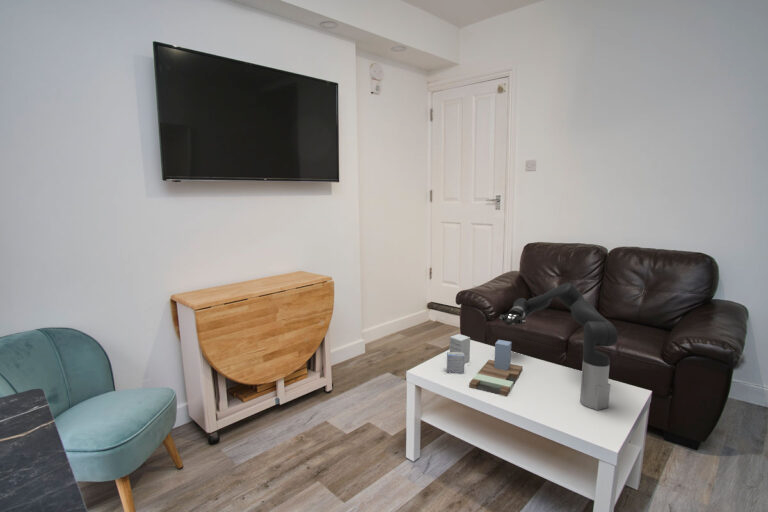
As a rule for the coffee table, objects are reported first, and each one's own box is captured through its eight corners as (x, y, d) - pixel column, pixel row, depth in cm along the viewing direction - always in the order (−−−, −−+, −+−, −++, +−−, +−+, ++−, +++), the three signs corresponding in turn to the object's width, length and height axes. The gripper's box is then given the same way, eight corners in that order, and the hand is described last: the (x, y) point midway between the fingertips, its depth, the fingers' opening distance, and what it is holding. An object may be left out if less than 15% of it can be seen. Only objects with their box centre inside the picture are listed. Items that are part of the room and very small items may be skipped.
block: (497, 363, 193) (498, 339, 191) (510, 366, 190) (511, 341, 188) (494, 368, 187) (495, 343, 186) (507, 370, 184) (508, 345, 183)
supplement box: (458, 357, 206) (459, 333, 204) (469, 361, 200) (470, 337, 198) (448, 360, 201) (449, 336, 199) (460, 365, 195) (461, 340, 194)
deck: (488, 363, 198) (488, 359, 198) (522, 370, 190) (522, 366, 190) (469, 387, 172) (469, 382, 172) (507, 396, 164) (507, 391, 164)
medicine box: (463, 369, 190) (463, 352, 189) (464, 373, 186) (464, 355, 185) (446, 369, 191) (446, 351, 190) (447, 372, 187) (447, 355, 186)
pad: (477, 377, 182) (477, 373, 181) (513, 385, 174) (513, 381, 173) (472, 382, 176) (473, 378, 176) (509, 391, 169) (510, 387, 168)
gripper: (503, 305, 210) (494, 313, 196) (530, 309, 204) (522, 317, 189) (503, 319, 212) (494, 328, 197) (529, 323, 205) (522, 333, 190)
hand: (508, 323), depth 193 cm, fingers closed
